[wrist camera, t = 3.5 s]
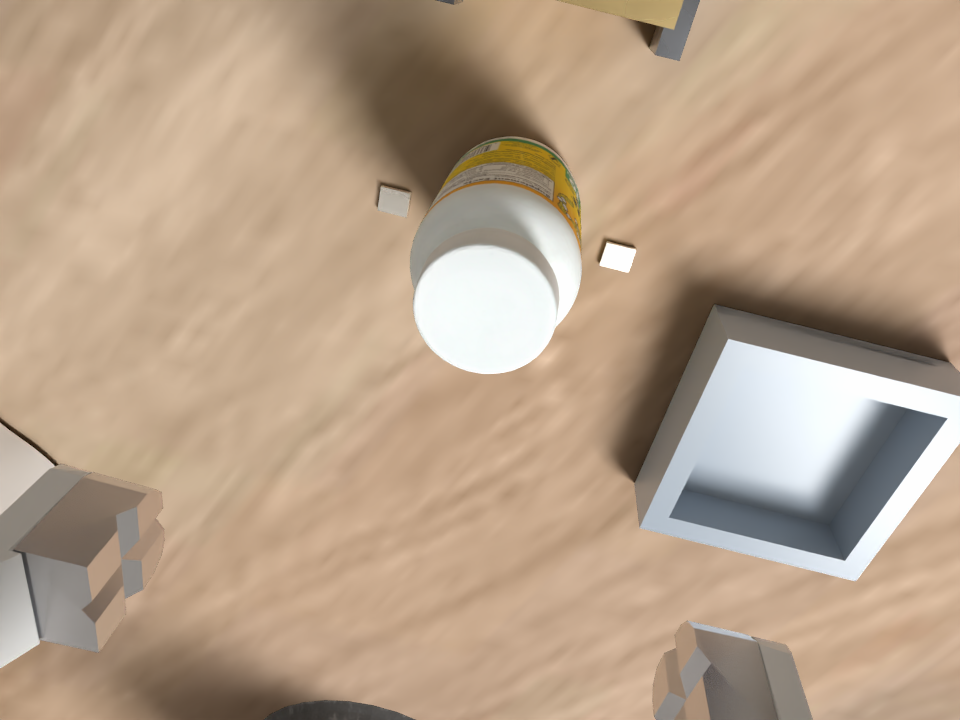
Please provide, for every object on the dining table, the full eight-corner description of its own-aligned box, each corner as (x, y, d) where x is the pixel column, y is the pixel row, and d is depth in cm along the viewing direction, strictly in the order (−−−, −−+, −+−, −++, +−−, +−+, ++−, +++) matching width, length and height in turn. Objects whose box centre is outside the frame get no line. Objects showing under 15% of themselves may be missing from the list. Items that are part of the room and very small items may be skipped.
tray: (634, 483, 33) (639, 527, 30) (713, 303, 28) (728, 338, 25) (833, 533, 33) (855, 581, 30) (950, 362, 28) (988, 403, 25)
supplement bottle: (460, 117, 25) (405, 191, 17) (599, 154, 25) (611, 245, 17) (433, 249, 28) (374, 367, 20) (558, 282, 28) (552, 414, 20)
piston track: (378, 208, 27) (365, 225, 26) (462, -404, 18) (451, -442, 17) (628, 270, 27) (631, 291, 26) (835, -310, 18) (862, -339, 17)
